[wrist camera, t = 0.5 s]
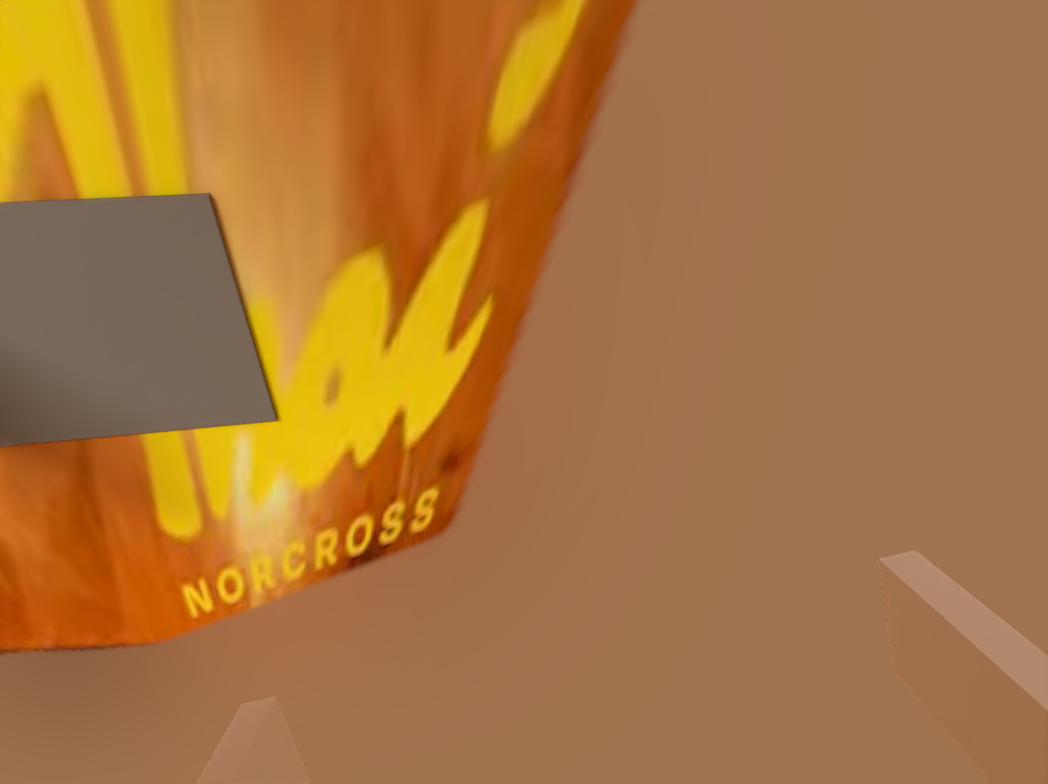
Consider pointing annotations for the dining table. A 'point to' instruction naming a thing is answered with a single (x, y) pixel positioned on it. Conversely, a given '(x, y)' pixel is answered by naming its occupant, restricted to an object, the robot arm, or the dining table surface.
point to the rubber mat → (121, 321)
